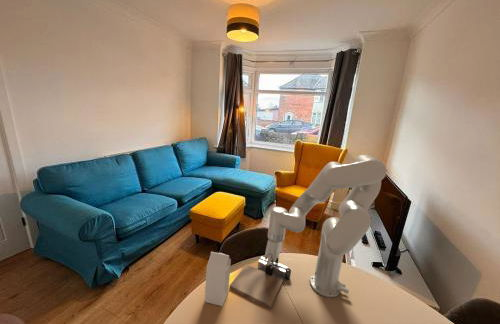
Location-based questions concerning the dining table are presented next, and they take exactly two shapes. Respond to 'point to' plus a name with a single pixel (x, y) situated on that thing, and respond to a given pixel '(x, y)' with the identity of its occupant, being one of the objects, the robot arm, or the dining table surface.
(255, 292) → the walnut board
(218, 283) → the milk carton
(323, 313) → the dining table surface
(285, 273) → the gray rounded bar
